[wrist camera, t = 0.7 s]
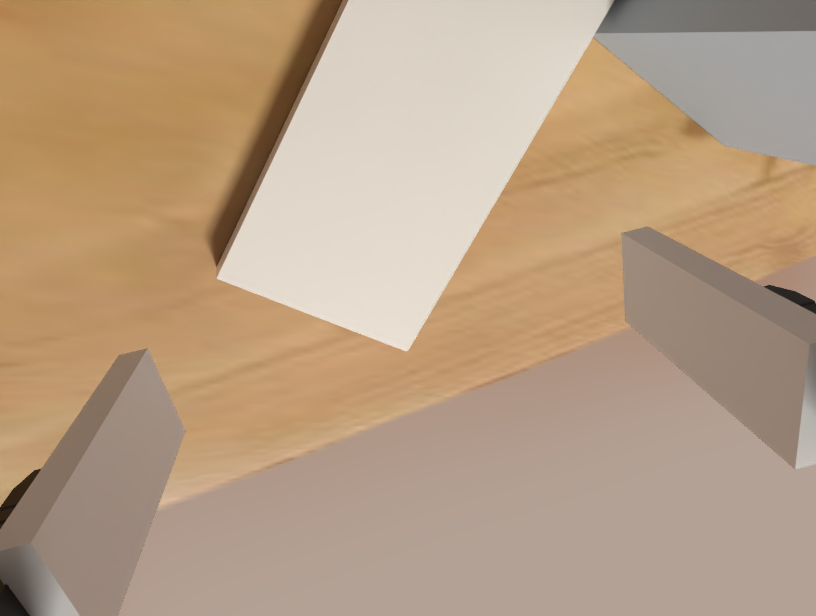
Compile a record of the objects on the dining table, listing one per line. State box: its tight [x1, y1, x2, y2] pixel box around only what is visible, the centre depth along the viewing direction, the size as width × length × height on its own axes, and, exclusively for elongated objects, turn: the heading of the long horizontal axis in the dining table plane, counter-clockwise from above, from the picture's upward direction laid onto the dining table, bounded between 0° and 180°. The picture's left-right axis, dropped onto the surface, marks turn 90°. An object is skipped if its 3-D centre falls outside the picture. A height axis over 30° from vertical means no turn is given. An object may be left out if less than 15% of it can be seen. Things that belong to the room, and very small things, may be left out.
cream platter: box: [216, 0, 614, 352], centre depth 27 cm, size 28×11×2 cm, turn 149°
